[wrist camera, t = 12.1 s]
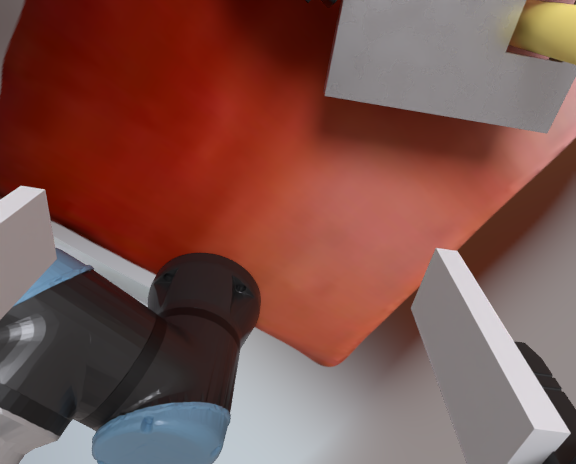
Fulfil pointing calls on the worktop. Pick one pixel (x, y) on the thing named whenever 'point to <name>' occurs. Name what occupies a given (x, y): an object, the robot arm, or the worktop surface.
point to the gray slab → (444, 62)
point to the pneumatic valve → (326, 2)
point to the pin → (547, 30)
